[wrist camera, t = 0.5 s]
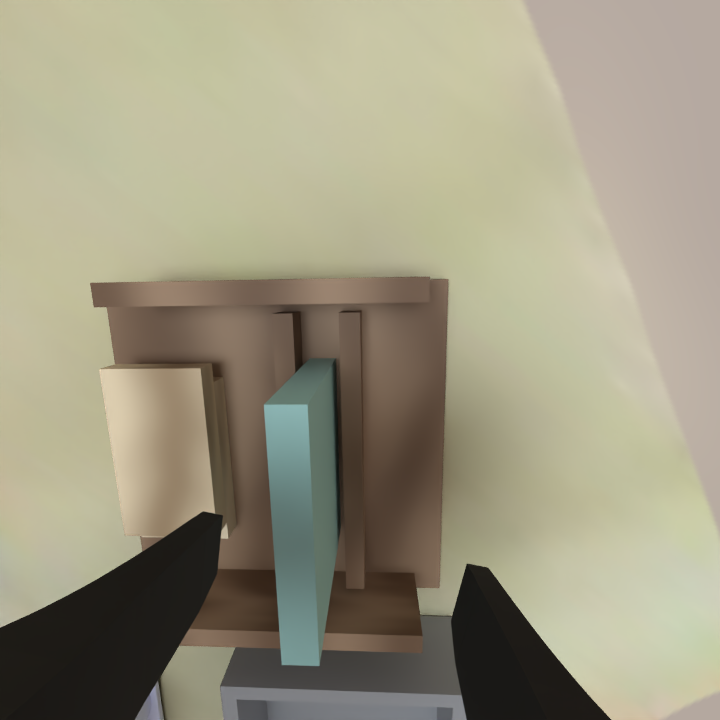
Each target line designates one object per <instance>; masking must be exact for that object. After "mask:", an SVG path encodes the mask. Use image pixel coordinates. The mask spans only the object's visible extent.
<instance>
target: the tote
mask: <svg viewBox="0 0 720 720" xmlns="http://www.w3.org/2000/svg"><path fill="white" fill-rule="evenodd" d="M420 619H421V627H422V634H423V649H422V653H402V652H370V651H338V650H322V653H321V660H320V666H300V665H282V661H281V649H275V648H243V647H236V648H235V650H234V653H233V655H232V658H231V660H230V663H229V665H228V668H227V670H226V673H225V675H224V678H223V680H222V683H221V685H220V690H221V699H222V708H223V718H224V720H467V719H466V714H465V709H464V705H463V700H462V695H461V690H460V685H459V680H458V675H457V670H456V665H455V657H454V648H453V639H452V628H451V619H452V617H450V616H420Z"/></svg>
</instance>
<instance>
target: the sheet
mask: <svg viewBox="0 0 720 720" xmlns="http://www.w3.org/2000/svg"><path fill="white" fill-rule="evenodd" d="M264 415H265V429H266V444H267V458H268V473H269V487H270V502H271V516H272V531H273V545H274V560H275V574H276V588H277V603H278V617H279V632H280V646H281V661H282V665H300V666H320V660H321V653H322V647H323V640H324V634H325V627H326V620H327V614H328V607H329V601H330V594H331V588H332V581H333V575H334V568H335V562H336V555H337V549H338V542H339V536H340V529H341V513H340V479H339V445H338V411H337V377H336V358H310V359H309V360H308V361H307V362H306V363H305V364H304V365H303V366H302V367H301V368H300V369H299V370H298V371H297V372H296V373H295V374H294V375H293V376H292V377H291V378H290V379H289V380H288V381H287V382H286V383H285V384H284V385H283V386H282V387H281V388H280V389H279V390H278V391H277V392H276V393H275V394H274V395H273V396H272V397H271V398H270V399H269V400H268V401H267V402H266V403H265V404H264Z"/></svg>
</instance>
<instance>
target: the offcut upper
mask: <svg viewBox="0 0 720 720" xmlns="http://www.w3.org/2000/svg"><path fill="white" fill-rule="evenodd" d="M99 372H100V378H101V385H102V391H103V398H104V404H105V411H106V417H107V423H108V430H109V436H110V443H111V449H112V456H113V462H114V469H115V475H116V482H117V488H118V494H119V501H120V507H121V514H122V520H123V527H124V533H125V536H167V535H168V534H170V533H171V532H173V531H174V530H176V529H177V528H179V527H180V526H182V525H183V524H184V523H186V522H187V521H189V520H190V519H192V518H193V517H195V516H196V515H198V514H200V513H201V512H203V511H204V512H209V513H214V514H219V515H223V521H222V529H223V528H224V526H225V525H226V523H227V518H226V508H225V497H224V487H223V476H222V466H221V455H220V445H219V434H218V424H217V413H216V403H215V392H214V381H213V371H212V363H202V364H115V365H112V366H108V367H105V368H101V369H99Z"/></svg>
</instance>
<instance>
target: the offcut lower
mask: <svg viewBox="0 0 720 720" xmlns="http://www.w3.org/2000/svg"><path fill="white" fill-rule="evenodd" d="M213 381H214V392H215V403H216V413H217V424H218V434H219V445H220V455H221V466H222V476H223V487H224V497H225V508H226V518H227V523H226V525H225V526H224V528H223V529H222V531H221V538H222V539H228V538H229V537H230V535H231V533H232V532H233V530H234V528H235V527H236V525H237V524H236V513H235V502H234V490H233V479H232V468H231V457H230V446H229V435H228V423H227V412H226V401H225V390H224V379H223V377H213ZM142 537H162V538H164V537H165V536H142Z"/></svg>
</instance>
